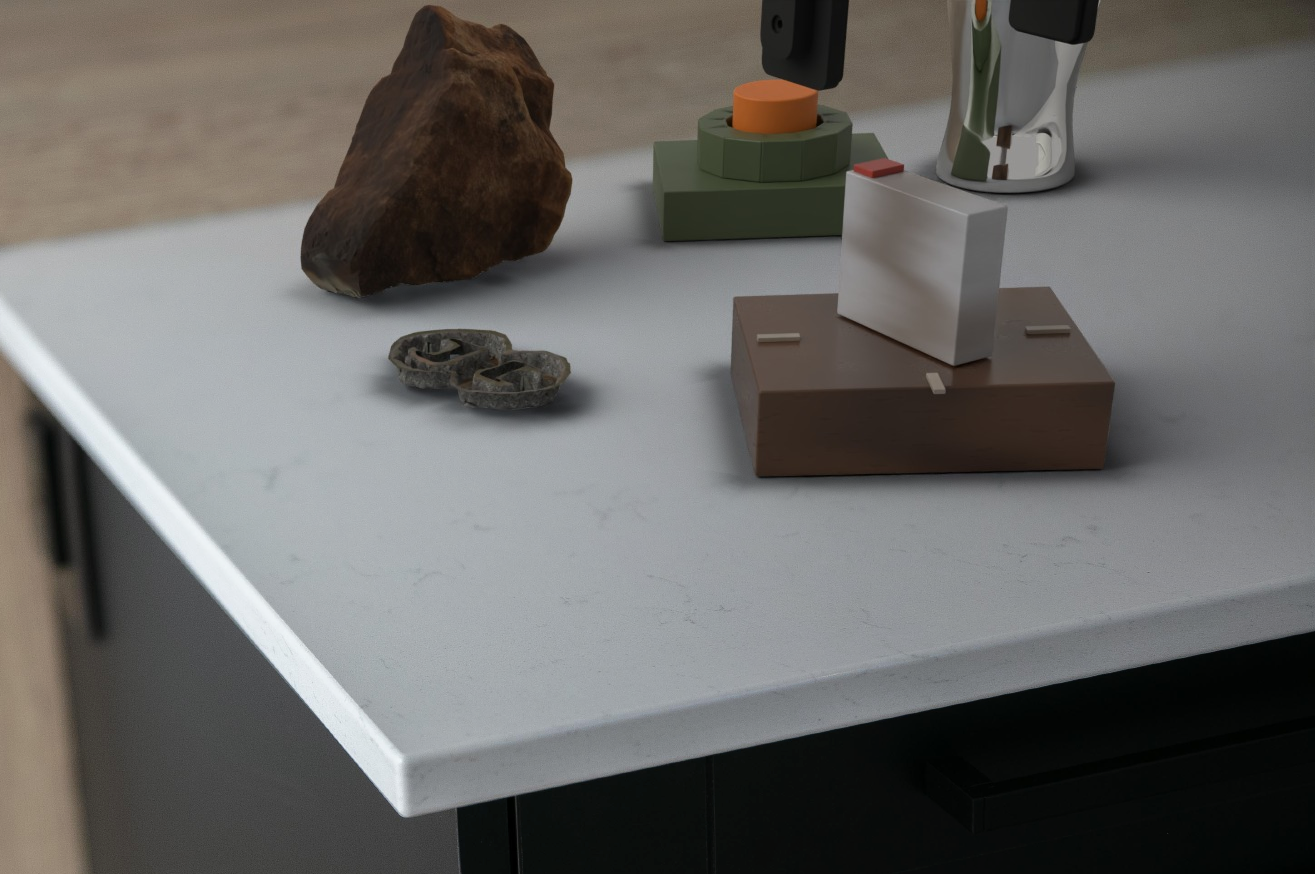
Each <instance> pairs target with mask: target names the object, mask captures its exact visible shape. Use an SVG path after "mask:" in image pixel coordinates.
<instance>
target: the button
mask: <svg viewBox="0 0 1315 874" xmlns="http://www.w3.org/2000/svg"><path fill="white" fill-rule="evenodd" d="M818 102H819V91H817V90H814V89H811V88H808V87H805V86H801V85H798V84H795V83H792V82H789V81H786V80H783V79H761V80H755V81H750V82H746V83H743V84H740V85H738V86H736V87H735V88H734V89H733V101H732V106H733V126H732V128H734V129H737V130H740V131H743V132H751V133H761V134H779V133H795V132H800V131H805V130H810V129H814V128H816V123H817V106H818V105H819V103H818Z"/></svg>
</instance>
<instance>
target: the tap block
mask: <svg viewBox="0 0 1315 874" xmlns="http://www.w3.org/2000/svg"><path fill="white" fill-rule="evenodd" d="M838 293H839V292H834V293H833V292H831V293H804V294H803V293H801V294H771V295H769V294H767V295H743V296H742V295H740V296H733V298H732V323H731V324H732V325H731V326H732V327H731V328H732V329H731V345H730V347H731V349H730V377H731V382H732V385H733V389H734V393H735V397H736V402H737V406H738V411H739V414H740V420H741V423H742V427H743V431H744V435H745V439H746V445H747V447H748V452H749V457H750V460H751V465H752V468H753V473H754V476H755V477H760V478H761V477H799V476H801V477H802V476H841V475H842V476H843V475H847V476H848V475H888V474H889V475H891V474H933V473H935V474H937V473H974V472H975V473H976V472H978V473H979V472H1015V471H1017V472H1019V471H1022V472H1023V471H1054V470H1055V471H1061V470H1062V471H1063V470H1064V471H1065V470H1066V471H1067V470H1068V471H1069V470H1102V469H1104V468H1105V461H1106V455H1107V448H1108V440H1109V433H1110V427H1111V426H1110V425H1111V420H1112V411H1113V404H1114V399H1115V398H1114V397H1115V390H1116V382H1115V379H1114V378H1113V377H1112V375H1111V373H1110V372H1109V371H1108V369H1107V368H1106V367H1105V365H1104V364H1103V362H1102V361H1101V359H1100V358H1099V356H1098V355H1097V353H1096V352H1095V349H1093V347H1092V346H1091V345H1090V343H1089V341H1087V339H1086V337H1085V336H1084V334H1083V333H1082V332H1081V330H1080V328H1079V327H1078V325H1077V324H1076V322H1075V321H1074V320H1073V318H1072V316H1071V315H1070V314H1069V313H1068V311H1067V310H1066V308H1065V306H1064V305H1063V304H1062V302H1061V301H1060V299H1059V298H1058V296H1057V295H1056V293H1055V291H1054V290H1053V289H1052V287H1051V286H1023V287H1022V286H1021V287H1017V286H1016V287H999V295H998V304H997V314H996V323H995V333H994V342H993V352H992V356H990V357H987V358H983V359H979V360H975V361H971V362H968V363H964V364H960V365H956V366H952V365H950V364H948V363H946V362H943V361H941V360H939V359H937V358H935V357H932V356H930V355H928V354H926V353H924V352H921V351H919V350H917V349H915V348H912V347H910V346H908V345H906V344H904V343H901V342H899V341H897V340H895V339H893V338H890V337H888V336H886V335H884V334H882V333H879V332H877V331H875V330H873V329H871V328H868V327H866V326H864V325H862V324H859V323H857V322H855V321H853V320H851V319H848V318H846V317H844V316H842V315H840V314H838V313H837V309H838Z"/></svg>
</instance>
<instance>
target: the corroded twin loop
mask: <svg viewBox="0 0 1315 874" xmlns="http://www.w3.org/2000/svg"><path fill="white" fill-rule="evenodd" d="M451 356H457V357H454V358H452V359H451ZM387 358H388V359H387V360H389V361H390V362H391V364H392V365H394V366H395V367H396V370H397V374H398V379H399V381H400V382H401V383H402V384H403V385H405V386H408V387H409V386H410V387H415V388H419V389H421V390H429V389H433V390H434V389H440V390H441V389H457V394H458V397H459V400H460V402H461V404H462V405H463V406H465V407H468V408H471V409H476V408H478V409H483V408H485V409H490V410H496V411H497V410H503V411H513V410H514V411H518V410H524V409H528V408H535V409H536V408H539V407H541V406H544V405H549V404H551V403H553V402H554V400H555V397H556V396H557V395H558V394H559V391H560V388H561V385H562V384H564V382H565V381H566V380H567V379H568V378H569V376H570V374H572V372H571V371H572V369H571V363H570V362H569V361H568V359H567V357H565V356H563V355H562V356H561V355H560V354H557V353H553V352H550V351H548V350H517V349H516V350H515V349H513V344H512V342H511V340H510V339H509V337H508V335H506V333H502V332H499V331H496V330H491V329H474V328H442V329H440V328H439V329H433V330H422V331H415V332H411V333H409V334H406V335H402V336H400V337H399V338H397V339H396V340H395V341H394V342H393V343H392V344H391V345H390V348H389V352H388V357H387Z"/></svg>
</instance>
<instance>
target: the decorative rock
mask: <svg viewBox="0 0 1315 874" xmlns="http://www.w3.org/2000/svg"><path fill="white" fill-rule="evenodd" d="M410 22H411V23H410V25H409V29H408V31H407V33H406V35H405V38H404V42H403V45H402V48H401V50H400V52H399V54H398V56H396V58H395V60H394V62H393V65H392V68H391V71H390V74H388V75H385V76H383V77H381V78H380V79H379V80H378V81H377V82H376V84H375V85H374V86H373V87H372V88H371V90H370V91H369V93H368V94H367V98H366V99H365V102H364V104H363V107H362V109H361V113H360V116H359V117H358V118H359V119H358V121H357V123H356V125H355V129H354V133H353V135H352V137H351V142H350V144H349V147H348V148H347V152H346V154H345V156H344V158H343V161H342V163H341V165H340V168H339V170H338V173H337V176H336V180H335V182H334V185H333V188H331V189H330V190H328V191H327V193H326V194H325V195H324V196H323V197H322V198H321V200H320V201H319V202H318V203H317V204H316V206H315V207H314V209H313V211H312V212H311V214H310V215H309V218H308V219H307V222H306V224H305V226H304V229H303V233H302V239H301V244H300V255H299V256H300V258H299V259H300V268H301V270H302V271H303V273H304V275H305V276H306V277H307V278H308V279H309V280H310V281H311V282H312V284H314V285H315V286H316V287H318V288H319V289H321V290H324V291H326V292H333V293H335V294H344V295H348V296H350V297H351V298H354V297H356V298H357V299H362V298H363V297H368V296H373V295H375V294H376V293H379V294H381V295H382V294H384V293H385V292H386V290H388V289H391V288H397V287H401V286H412V287H413V286H414V287H415V286H423V285H429V284H432V283H435V284H436V283H440V284H441V283H453V282H459V281H469V280H472V279H475V278H477V277H479V276H480V275H481V274H482V273H483V272H487V271H488V270H489V269H490V268H493V267H495V266H497V265H501V264H503V263H504V262H507V261H508V262H518V261H520V260H522V259H524V258H528V257H531V256H535V255H538V254H542V253H544V252H545V251H546V250H547V249H548V248H549V247H550V246H551V244H552V242H553V240H554V237H555V235H556V234H557V232H558V230H559V229H560V227H561V224H562V222H563V220H564V217H565V213H566V208H567V205H568V202H569V199H570V197H571V194H572V189H573V188H572V187H573V175H572V172H571V171H570V170H569V169H567V166H566V159H565V158H566V157H565V154H564V151H563V150H562V148H561V146H560V145H559V144H558V142H557V140H556V138H555V137H554V135H553V134H552V131H551V129H550V128H551V121H552V117H553V104H554V103H553V101H554V92H555V83H554V81H553V79H552V77H550V76H549V75H548V73H547V71H546V70H545V68H544V67H543V66H542V64H541V63H540V60H539V59H538V57H537V56H536V54H535V52H534V50H533V49H532V48H531V46H530V44H529V43H528V42H527V40H526V38H524V37H523V36H522V35H521V34H519V33H518V32H517V31H516V30H515V29H513V28H512V27H510V26H509V25H507V24H504V23H497V24H494V25H493V26H491V27H487V26H485V25H483V24H481V23H477V22H474V21H470V20H465V19H461V18H459V17H458V16H456V15H455V14H454V13H453V12H451V11H450V10H448V9H447V8H445V7H443V6H440V5H434V4H426V5H424V6H422V7H421V8H420V9H419V10H417V11H416V12H415V14H414V16H413V18H412V20H411V21H410Z"/></svg>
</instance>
